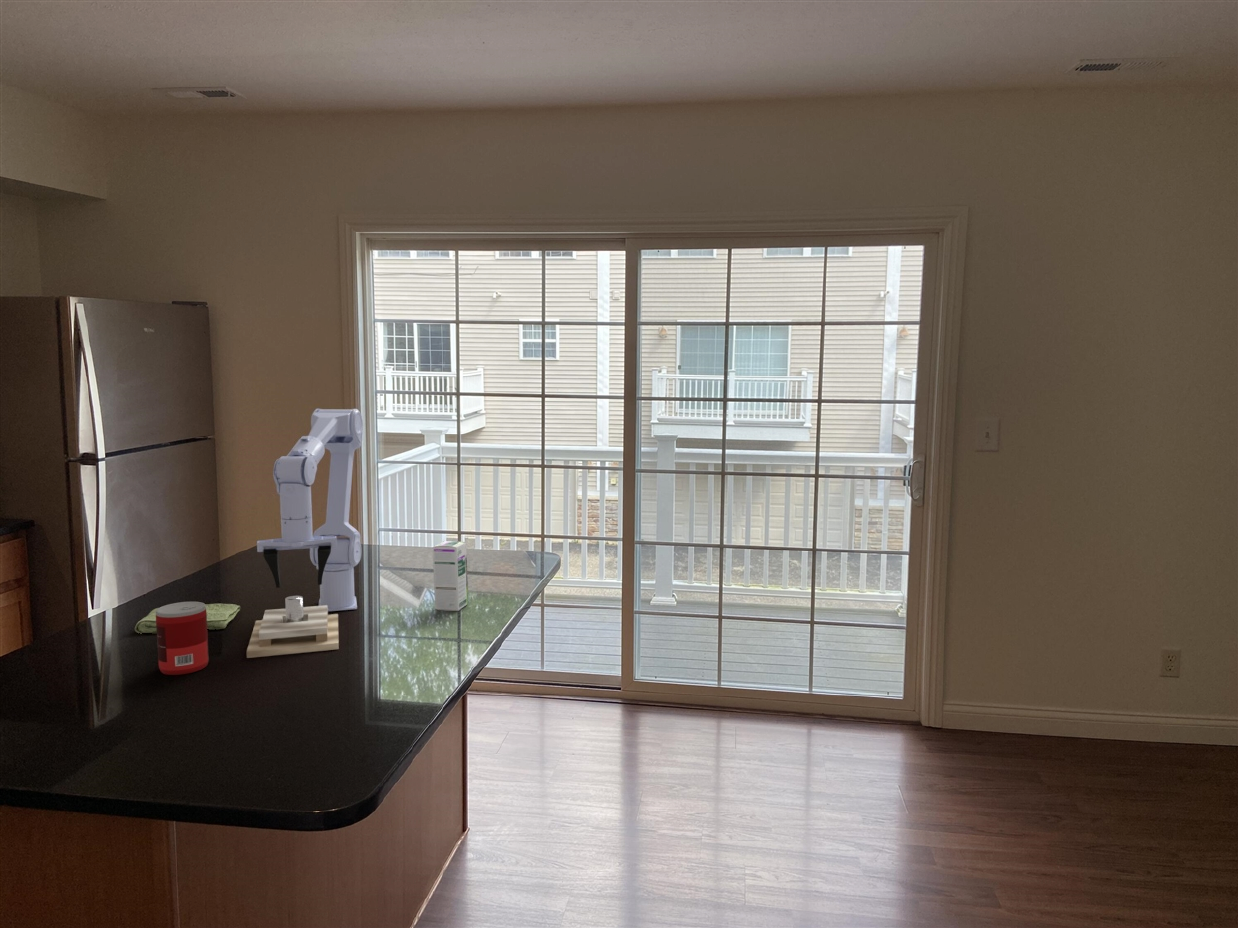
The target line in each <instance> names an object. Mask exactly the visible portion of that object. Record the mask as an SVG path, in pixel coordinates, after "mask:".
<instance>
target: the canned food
mask: <svg viewBox="0 0 1238 928" xmlns="http://www.w3.org/2000/svg"><path fill="white" fill-rule="evenodd" d="M157 608H158V609H157V610H156V630H157V633H156V642H157V656H158V657H157V659H158V669H159V671H160V672H161V673H162V674H163V675H169V676H179V675H188V674H191V673H195V672H198V671H199V672H200V670H203V669H204V668H206V667H207V666H208V664H209V659H210V658H209V657H210V656H209V655H210V653H209V636H208V635H209V634H208V630H207V613H206V604H205V603H204V602H200V601H181V602H174V603H169V604H166V605H163V606H161V607H157Z"/></svg>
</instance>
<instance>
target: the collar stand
mask: <svg viewBox="0 0 1238 928" xmlns="http://www.w3.org/2000/svg"><path fill="white" fill-rule="evenodd" d="M303 618H304V621H301V622H289V623H286V608H275V609H265V610H264V614H263V618H262V619H261V620H255V621H254V625H253V630H252V632H251V636H250V639H249V641H248V646H247V648H246V659H249V658H250V659H252V658H261V657H271V656H283V655H293V654H302V653H312V652H323V651H331V650H332V651H333V650H339V649H340V648H339V646H340V643H339V642H340V641H339V614H338V613H333V614H332V613H331V614H329V611H328V606H327V605H323V606H319V605H313V606H312V605H311V606H303Z"/></svg>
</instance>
